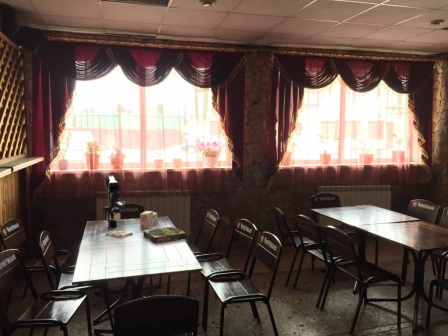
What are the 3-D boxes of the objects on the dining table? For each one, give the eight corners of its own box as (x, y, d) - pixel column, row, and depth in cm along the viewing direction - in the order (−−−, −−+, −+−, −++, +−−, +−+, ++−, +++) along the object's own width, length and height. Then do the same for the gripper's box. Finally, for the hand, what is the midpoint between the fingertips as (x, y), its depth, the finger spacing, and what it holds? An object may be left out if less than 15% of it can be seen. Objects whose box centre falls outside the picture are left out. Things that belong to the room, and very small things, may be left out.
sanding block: (109, 219, 311) (109, 213, 311) (113, 218, 315) (113, 212, 315) (116, 220, 308) (116, 214, 307) (120, 219, 312) (120, 213, 311)
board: (105, 234, 307) (105, 232, 307) (115, 231, 316) (115, 229, 316) (123, 237, 298) (123, 235, 298) (132, 234, 307) (132, 232, 307)
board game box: (186, 239, 294) (185, 232, 293) (155, 244, 282) (155, 237, 281) (172, 232, 314) (172, 226, 313) (143, 237, 302) (143, 230, 301)
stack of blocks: (151, 222, 347) (150, 208, 345) (157, 223, 345) (157, 209, 344) (140, 228, 326) (139, 213, 325) (147, 229, 324) (147, 214, 323)
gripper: (113, 200, 298) (114, 221, 299) (130, 197, 314) (131, 217, 315) (102, 199, 303) (102, 220, 304) (119, 196, 320) (120, 216, 321)
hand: (114, 218), depth 311 cm, fingers closed on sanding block, 4 cm apart
